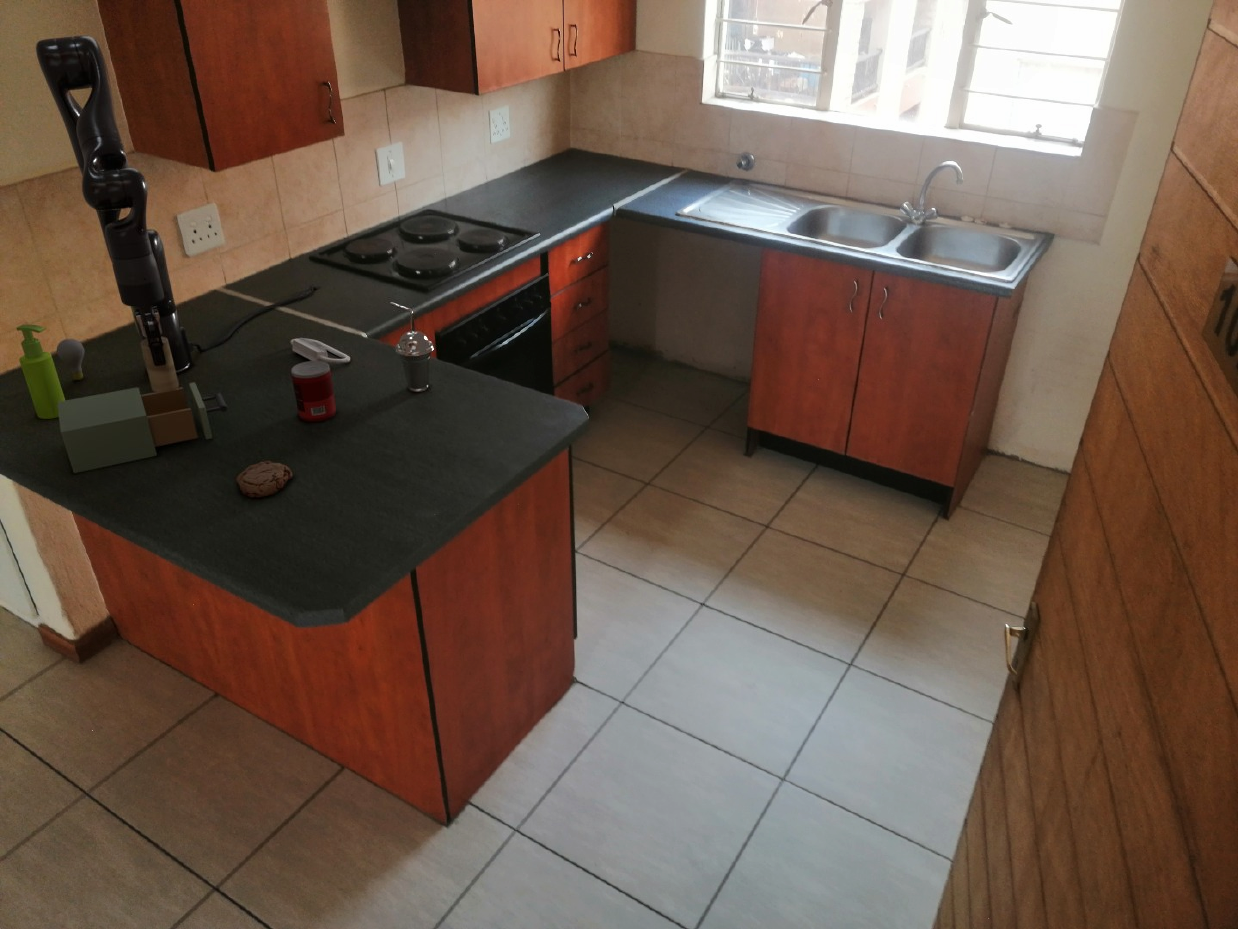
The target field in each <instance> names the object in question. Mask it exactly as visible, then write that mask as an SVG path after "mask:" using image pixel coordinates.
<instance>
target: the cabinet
mask: <svg viewBox="0 0 1238 929" xmlns="http://www.w3.org/2000/svg"><path fill="white" fill-rule="evenodd" d="M141 395H142V394H141V392H140V387H132V388H128V389H122V390H116V391H111V392H104V393H99V394H94V395H88V396H83V397H77V398H71V399H65V401H61V402H57V403H58V412H59V417H58V419H59V420H58V421H59V430H60V435H61V437H62V440H63V444H64V447H65V450H66V453H67V456H68V459H69V463H70V466H71V469H72V472H73V474H78V473H82V472H86V471H92V470H96V469H101V468H106V467H111V466H116V465H120V464H125V463H129V462H134V461H138V460H143V459H147V458H153V457H156V456H158V454H157V450H156V447H155V446H154V442H153V438H152V434H151V431H150V427H149V423H148V419H147V416H146V412H145V409H144V405H143V402H142V398H141Z"/></svg>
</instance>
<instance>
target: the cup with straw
mask: <svg viewBox="0 0 1238 929" xmlns="http://www.w3.org/2000/svg"><path fill="white" fill-rule="evenodd" d="M389 305H390V306H392V307H395V308H398V309H401V310H404V311H407V312H409V316H410V318H409V319H410V327H411V330H408V331H406V332H405V333H403V334H402V335H401V336H400V338H399V339H398V343H397V344H396V345H395V353H396V354H398V355H399V358H400V360H401V361H400V362H402V366H403V371H404V376H405V380H406V384H407V386H408V390H409V391H410V392H413V393H423V392H426V391H428V390H429V388H430V386H429V384H430V360H431V354H432V353H431V352H432V351H433V350H434V348H435V346H434V344H433V342H432V341H430V340H429V338H428V336H427V335H426V334H425V333H424V332H421V331H420V330H416V329H415V328H416V327H415V318H414V311H413V309H412V308H410V307H407V306H404V305H401V304H399V303H397V302H396V303H395V302H393V301H390V303H389Z"/></svg>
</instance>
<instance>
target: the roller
mask: <svg viewBox="0 0 1238 929" xmlns="http://www.w3.org/2000/svg"><path fill="white" fill-rule="evenodd" d="M161 338H162V342H163V343H164V345H163V351H164V355H165V359H166V364H165V365H161V366H155V365H154V363H153V359H152V355H151V351H150V349H149V347H148V342H147V339H144V340H142V341H141V342H140V341H139V344H140V347H141V353H142V355H143V356H142V358H143V357H144V360H143V361H144V364H145V369H146V368H147V369H146V373H147V372H148V373H147V375H148V379H149V383H150V387H151V390H152V392H153V393H154V392H159V393H163V392H169V391H173V390H175V389H177V388H180V387H179V386H180V382H179V378H178V376H177V375H178V374H176V371H175V367H174V363H173V358H172V354H171V350H170V346H169V342H168V339H167V338H166V337H161ZM150 341H151V342H156V341H159V340H158V338H153V339H151V340H150Z"/></svg>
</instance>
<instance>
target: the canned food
mask: <svg viewBox="0 0 1238 929" xmlns="http://www.w3.org/2000/svg"><path fill="white" fill-rule="evenodd" d="M290 375H291V380H292V386H293V391H294V396H295V403H296V407H297V413H298V416H299V418H300V419H301V420H303V421H305V422H310V423H315V422H323V421H326V420H328V419H330V418H332V417H333V416H335V414H336V411H337V407H336V399H335V393H334V385H333V381H332V380H333V379H332V372H331V367H330V363H329V362H327V363H326V362H322V361H311V360H309V361H303V362H300V363H297V364H295V365H293V366H292V368H291V369H290Z"/></svg>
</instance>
